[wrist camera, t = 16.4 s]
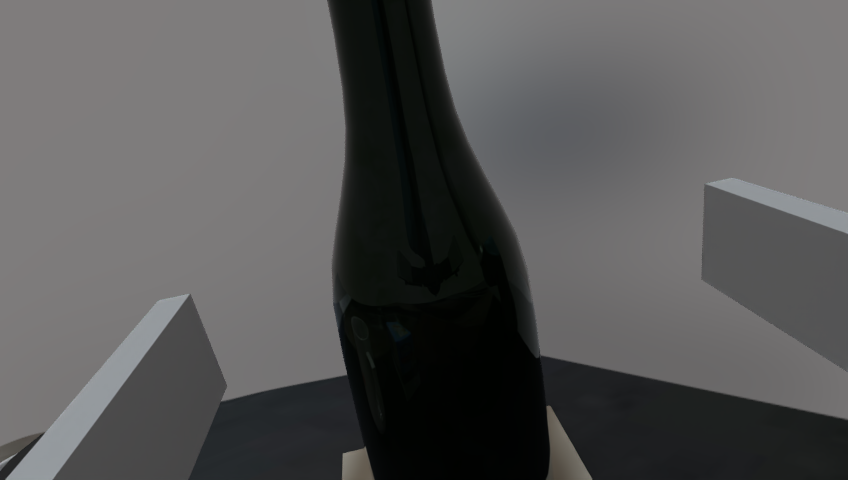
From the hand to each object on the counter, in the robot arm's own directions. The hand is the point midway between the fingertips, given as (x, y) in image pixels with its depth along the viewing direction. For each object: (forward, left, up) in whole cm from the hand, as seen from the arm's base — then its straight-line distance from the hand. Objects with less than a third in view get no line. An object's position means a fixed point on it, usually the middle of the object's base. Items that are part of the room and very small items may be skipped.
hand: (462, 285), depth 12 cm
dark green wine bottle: (0, -11, -21) cm, 24 cm away
